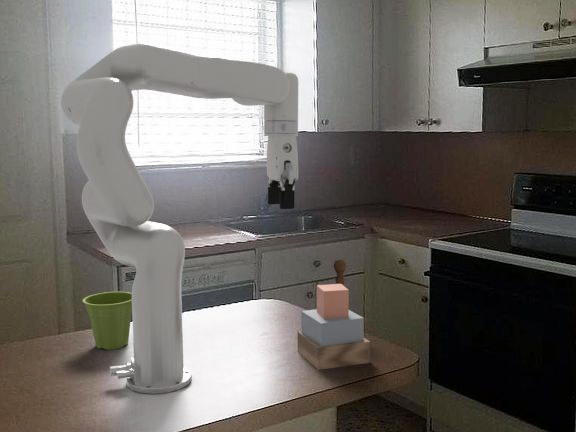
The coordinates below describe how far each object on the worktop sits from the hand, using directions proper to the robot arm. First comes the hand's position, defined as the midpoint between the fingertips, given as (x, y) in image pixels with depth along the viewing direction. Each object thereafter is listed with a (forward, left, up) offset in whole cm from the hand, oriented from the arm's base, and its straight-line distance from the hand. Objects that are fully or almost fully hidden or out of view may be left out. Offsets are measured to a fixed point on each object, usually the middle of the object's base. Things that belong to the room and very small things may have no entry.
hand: (280, 206), depth 149 cm
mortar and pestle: (+16, +3, -32) cm, 36 cm away
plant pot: (-37, +13, -32) cm, 51 cm away
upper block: (+7, -12, -28) cm, 31 cm away
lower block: (+8, -12, -33) cm, 35 cm away
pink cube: (+7, -12, -23) cm, 27 cm away
